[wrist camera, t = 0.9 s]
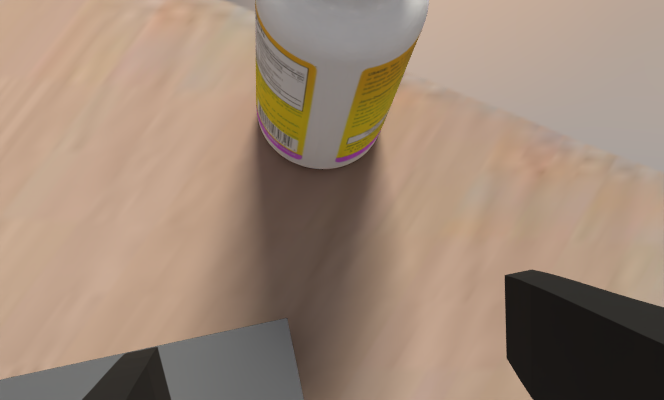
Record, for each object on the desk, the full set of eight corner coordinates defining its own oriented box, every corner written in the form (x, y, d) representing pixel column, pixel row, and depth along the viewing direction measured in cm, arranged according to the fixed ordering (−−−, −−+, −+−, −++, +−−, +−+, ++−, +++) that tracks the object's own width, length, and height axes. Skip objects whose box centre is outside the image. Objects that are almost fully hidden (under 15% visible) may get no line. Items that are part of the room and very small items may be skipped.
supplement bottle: (383, 77, 30) (464, -143, 18) (374, 183, 28) (463, 3, 16) (265, 58, 30) (271, -182, 18) (245, 163, 27) (237, -38, 15)
